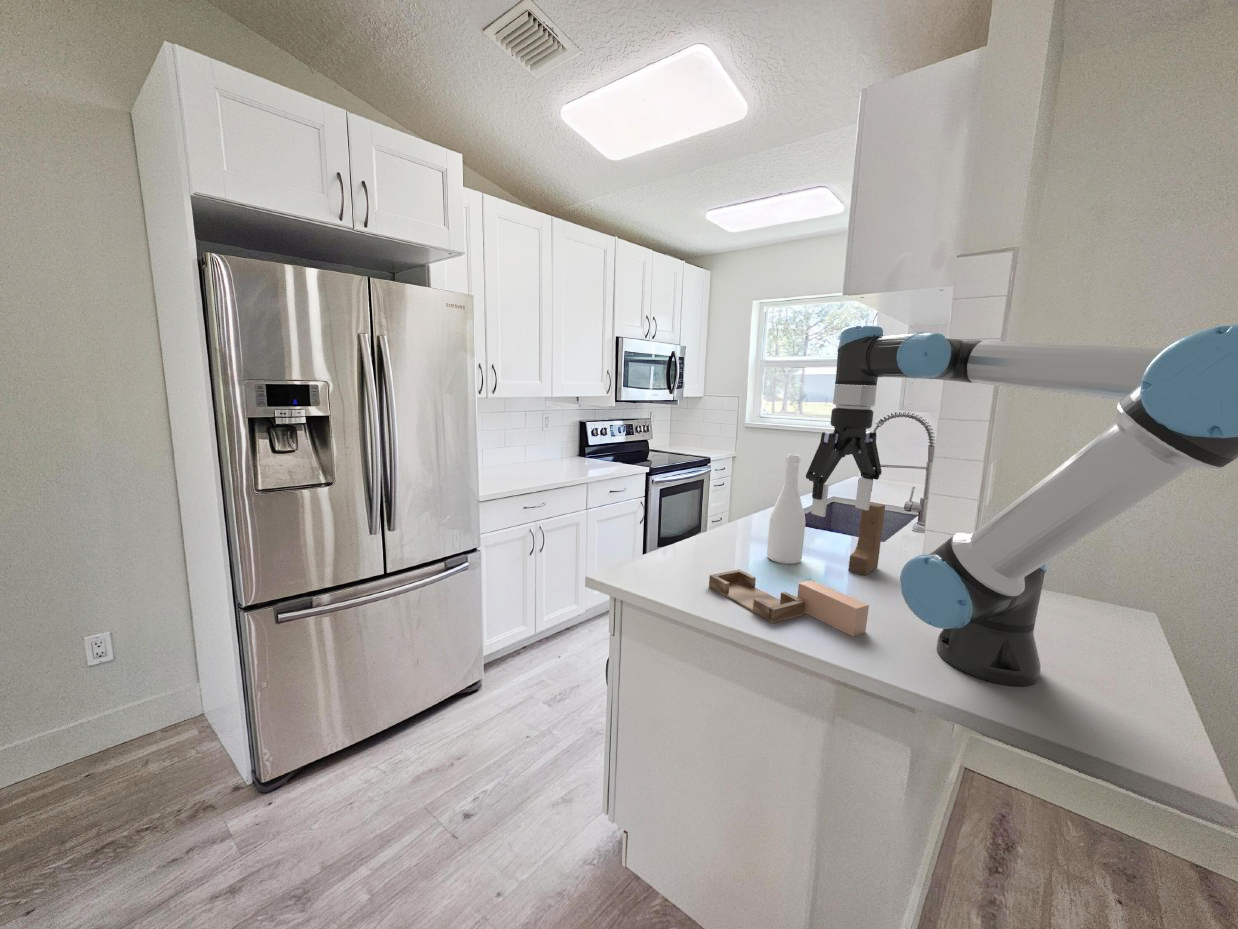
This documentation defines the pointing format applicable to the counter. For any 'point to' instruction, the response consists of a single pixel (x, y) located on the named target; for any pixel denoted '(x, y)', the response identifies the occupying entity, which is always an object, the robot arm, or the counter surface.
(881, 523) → the wooden block
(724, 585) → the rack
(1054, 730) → the counter surface
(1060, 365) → the robot arm
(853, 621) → the peach rectangular block
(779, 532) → the wine bottle
